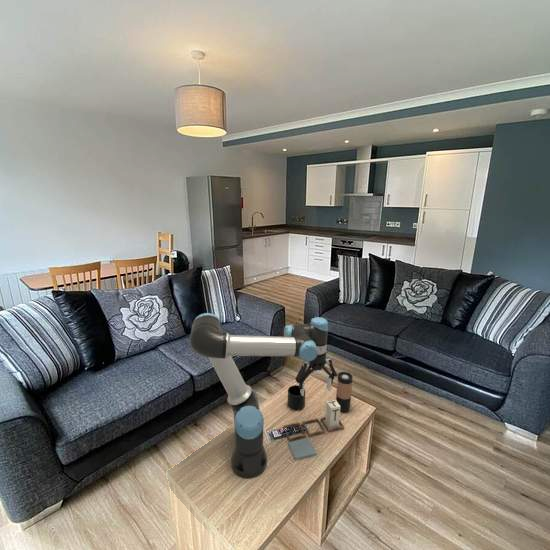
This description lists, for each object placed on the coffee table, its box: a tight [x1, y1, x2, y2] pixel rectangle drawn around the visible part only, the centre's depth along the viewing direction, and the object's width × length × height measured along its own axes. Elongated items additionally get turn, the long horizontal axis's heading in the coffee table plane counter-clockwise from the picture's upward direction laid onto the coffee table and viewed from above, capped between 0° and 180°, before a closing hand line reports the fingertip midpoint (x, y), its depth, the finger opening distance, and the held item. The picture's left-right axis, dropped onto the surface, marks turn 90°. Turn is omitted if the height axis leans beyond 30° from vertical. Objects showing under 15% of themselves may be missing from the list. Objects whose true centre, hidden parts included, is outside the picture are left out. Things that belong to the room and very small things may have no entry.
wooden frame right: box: [319, 416, 345, 434], centre depth 145 cm, size 8×8×2 cm
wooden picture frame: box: [282, 422, 307, 442], centre depth 139 cm, size 8×8×2 cm
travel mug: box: [335, 371, 353, 414], centre depth 154 cm, size 8×8×20 cm
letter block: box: [324, 399, 341, 429], centre depth 143 cm, size 5×5×12 cm
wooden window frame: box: [301, 418, 326, 438], centre depth 142 cm, size 8×8×2 cm
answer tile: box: [287, 437, 317, 461], centre depth 130 cm, size 10×9×1 cm
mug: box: [287, 384, 306, 412], centre depth 158 cm, size 9×12×9 cm
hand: (315, 391), depth 137 cm, fingers open, 13 cm apart
